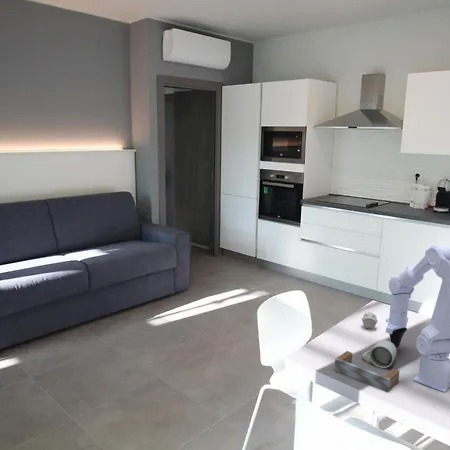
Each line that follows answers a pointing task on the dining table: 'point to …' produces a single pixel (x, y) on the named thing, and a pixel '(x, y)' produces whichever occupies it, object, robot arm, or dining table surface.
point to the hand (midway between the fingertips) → (395, 346)
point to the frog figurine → (369, 320)
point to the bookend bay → (366, 373)
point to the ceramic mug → (381, 354)
